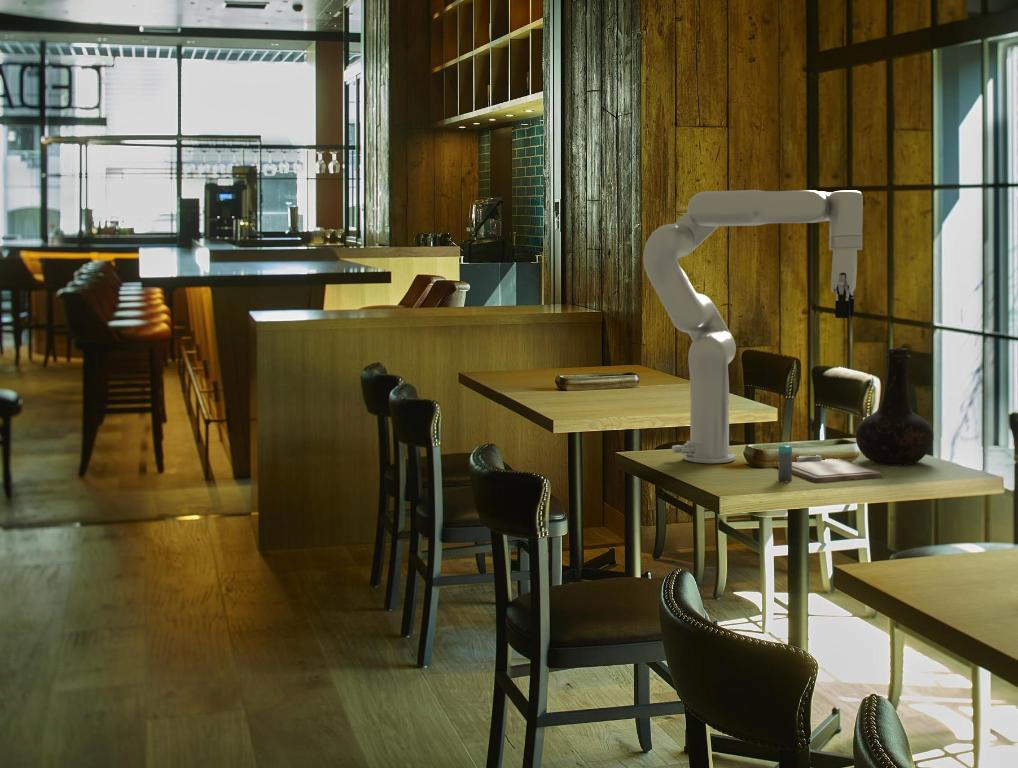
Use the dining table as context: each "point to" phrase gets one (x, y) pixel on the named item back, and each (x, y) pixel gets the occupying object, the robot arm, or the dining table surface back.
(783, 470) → the marker
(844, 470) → the writing board
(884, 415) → the glass bottle
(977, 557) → the dining table surface
